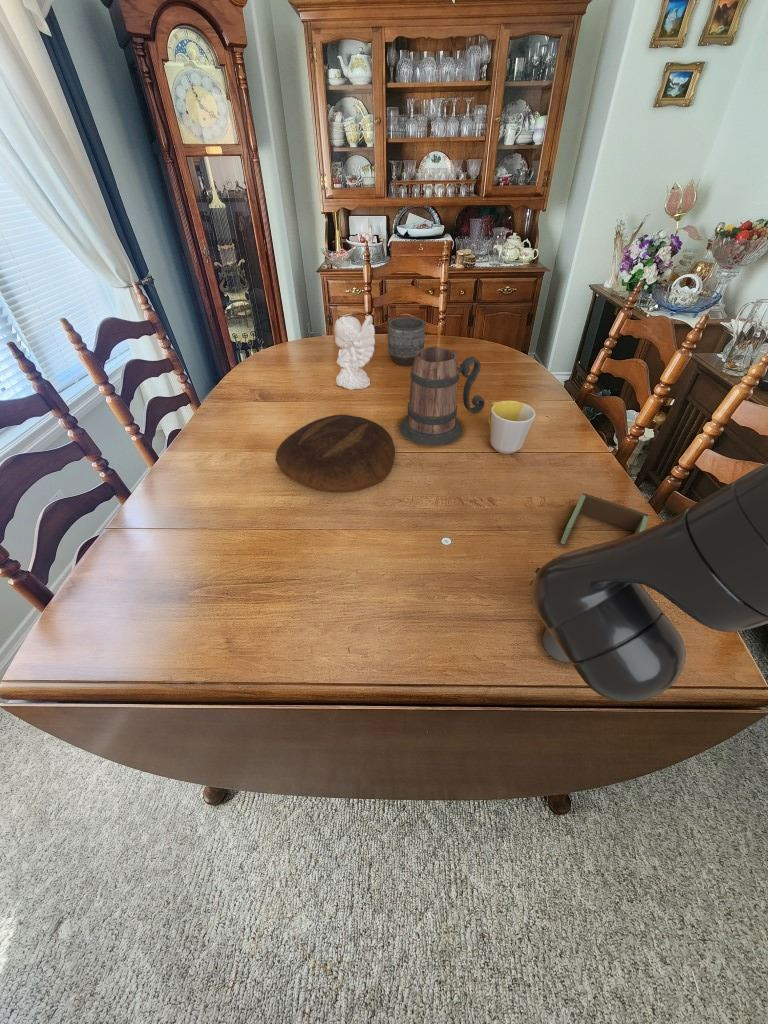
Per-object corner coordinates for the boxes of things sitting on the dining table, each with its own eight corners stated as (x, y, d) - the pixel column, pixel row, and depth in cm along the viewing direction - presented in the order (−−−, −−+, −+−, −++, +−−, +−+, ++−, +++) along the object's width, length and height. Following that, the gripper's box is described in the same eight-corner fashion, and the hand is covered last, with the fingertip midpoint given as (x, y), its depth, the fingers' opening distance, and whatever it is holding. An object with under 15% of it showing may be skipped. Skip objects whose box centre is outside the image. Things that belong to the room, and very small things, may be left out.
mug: (532, 457, 104) (543, 419, 97) (492, 461, 103) (499, 423, 96) (512, 428, 114) (520, 392, 107) (475, 431, 113) (481, 395, 106)
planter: (430, 360, 148) (432, 321, 139) (408, 371, 141) (409, 332, 133) (403, 351, 154) (404, 314, 145) (380, 361, 147) (380, 323, 139)
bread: (417, 452, 106) (418, 421, 100) (351, 514, 90) (349, 481, 84) (328, 420, 118) (324, 391, 112) (255, 470, 101) (247, 438, 95)
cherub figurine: (336, 372, 141) (331, 308, 128) (374, 371, 142) (372, 307, 128) (335, 391, 131) (329, 323, 118) (376, 389, 132) (374, 322, 118)
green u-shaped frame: (639, 531, 85) (649, 514, 82) (628, 569, 78) (638, 553, 75) (576, 508, 90) (582, 492, 87) (560, 543, 83) (566, 526, 80)
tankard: (414, 450, 107) (417, 374, 93) (390, 418, 119) (390, 346, 105) (496, 433, 113) (510, 358, 99) (466, 404, 124) (475, 334, 111)
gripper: (681, 601, 42) (651, 593, 58) (538, 544, 48) (545, 550, 63) (651, 671, 42) (629, 644, 58) (512, 605, 48) (525, 597, 64)
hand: (585, 595), depth 61 cm, fingers closed on bottle, 5 cm apart
